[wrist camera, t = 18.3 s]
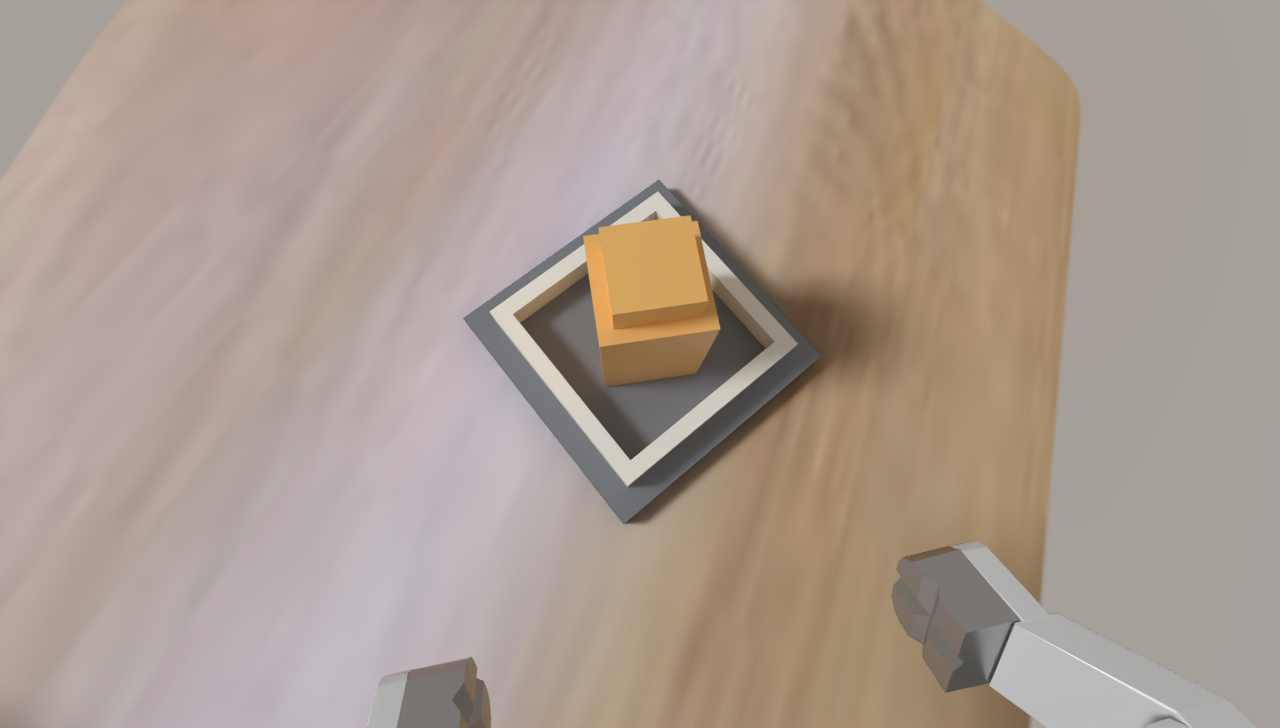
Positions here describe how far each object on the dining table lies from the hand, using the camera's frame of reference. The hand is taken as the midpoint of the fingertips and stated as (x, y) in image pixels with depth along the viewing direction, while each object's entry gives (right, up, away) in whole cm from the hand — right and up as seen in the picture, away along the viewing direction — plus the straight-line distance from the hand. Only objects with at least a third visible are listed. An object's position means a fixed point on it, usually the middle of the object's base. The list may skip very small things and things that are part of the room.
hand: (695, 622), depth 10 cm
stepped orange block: (-1, +6, +18) cm, 19 cm away
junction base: (-1, +6, +19) cm, 19 cm away
